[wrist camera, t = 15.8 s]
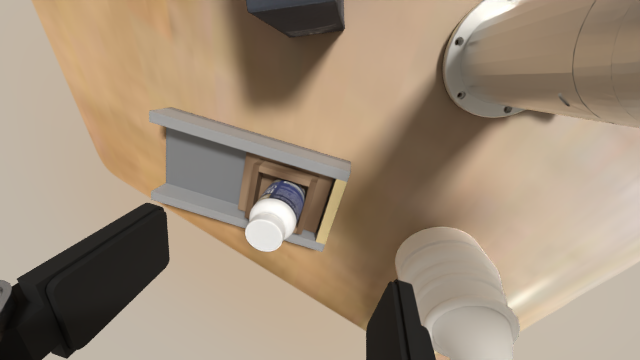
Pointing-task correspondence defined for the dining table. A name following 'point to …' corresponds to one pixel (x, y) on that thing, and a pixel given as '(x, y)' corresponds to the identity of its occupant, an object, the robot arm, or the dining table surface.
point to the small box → (300, 15)
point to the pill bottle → (275, 215)
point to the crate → (268, 170)
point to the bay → (233, 170)
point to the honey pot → (458, 295)
